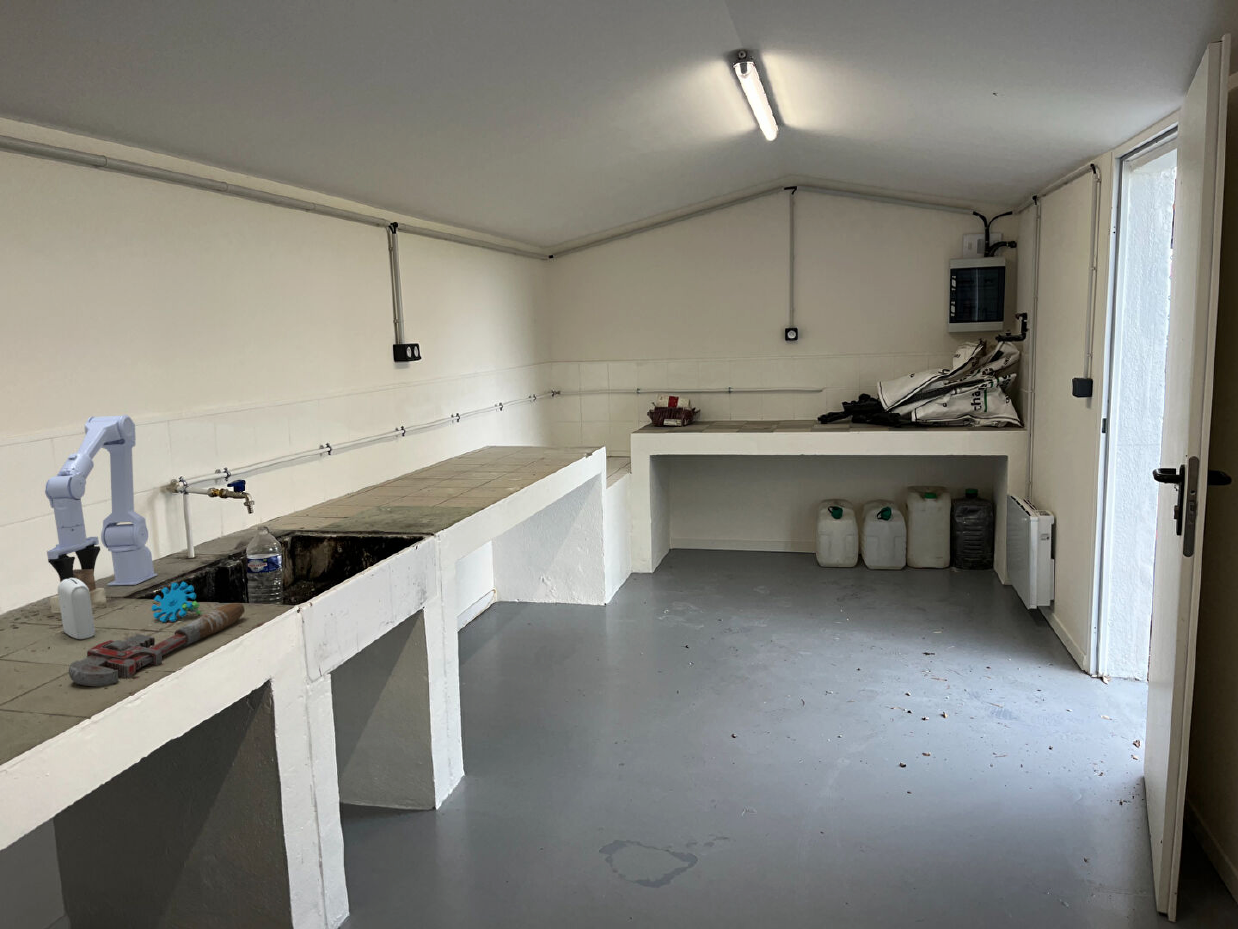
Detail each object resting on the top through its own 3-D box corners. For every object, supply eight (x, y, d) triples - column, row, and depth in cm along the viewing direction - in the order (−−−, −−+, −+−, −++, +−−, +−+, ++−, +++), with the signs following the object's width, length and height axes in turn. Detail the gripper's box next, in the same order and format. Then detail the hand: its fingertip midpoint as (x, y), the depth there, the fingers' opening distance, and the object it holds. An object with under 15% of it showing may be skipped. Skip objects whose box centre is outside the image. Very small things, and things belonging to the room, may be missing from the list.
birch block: (78, 603, 221) (76, 588, 220) (106, 604, 219) (104, 588, 219) (52, 614, 213) (49, 597, 212) (81, 614, 211) (78, 598, 211)
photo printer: (61, 632, 197) (53, 577, 195) (83, 627, 200) (75, 573, 198) (76, 641, 190) (67, 585, 188) (98, 636, 193) (90, 580, 191)
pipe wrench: (108, 691, 161) (104, 665, 160) (53, 688, 164) (49, 662, 164) (254, 619, 200) (251, 597, 199) (207, 617, 203) (204, 596, 202)
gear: (141, 615, 200) (165, 576, 206) (156, 627, 205) (179, 589, 210) (181, 624, 197) (205, 584, 203) (196, 636, 202) (218, 597, 207)
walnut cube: (77, 589, 219) (74, 569, 218) (96, 589, 218) (93, 569, 217) (62, 595, 214) (59, 575, 213) (81, 595, 213) (78, 574, 212)
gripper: (77, 519, 221) (84, 573, 223) (31, 532, 207) (40, 590, 209) (103, 518, 220) (110, 572, 222) (59, 532, 206) (68, 589, 208)
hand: (78, 581), depth 216 cm, fingers open, 6 cm apart
